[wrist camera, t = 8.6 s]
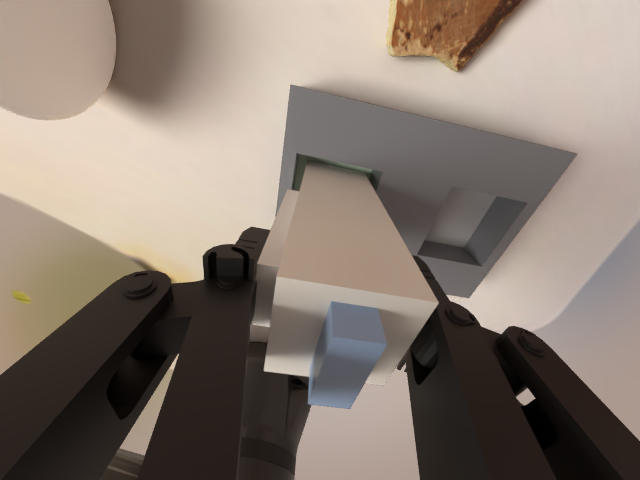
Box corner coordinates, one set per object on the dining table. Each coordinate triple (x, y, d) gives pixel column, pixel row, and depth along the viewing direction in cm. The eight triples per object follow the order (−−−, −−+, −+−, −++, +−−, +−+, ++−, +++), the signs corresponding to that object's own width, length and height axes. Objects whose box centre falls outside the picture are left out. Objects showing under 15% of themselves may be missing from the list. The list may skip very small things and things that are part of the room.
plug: (349, 222, 18) (390, 421, 7) (298, 213, 18) (255, 407, 6) (364, 172, 16) (459, 339, 5) (307, 160, 16) (267, 310, 4)
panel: (452, 275, 22) (468, 298, 20) (276, 244, 21) (270, 264, 18) (536, 145, 16) (577, 153, 13) (296, 87, 14) (290, 84, 12)
